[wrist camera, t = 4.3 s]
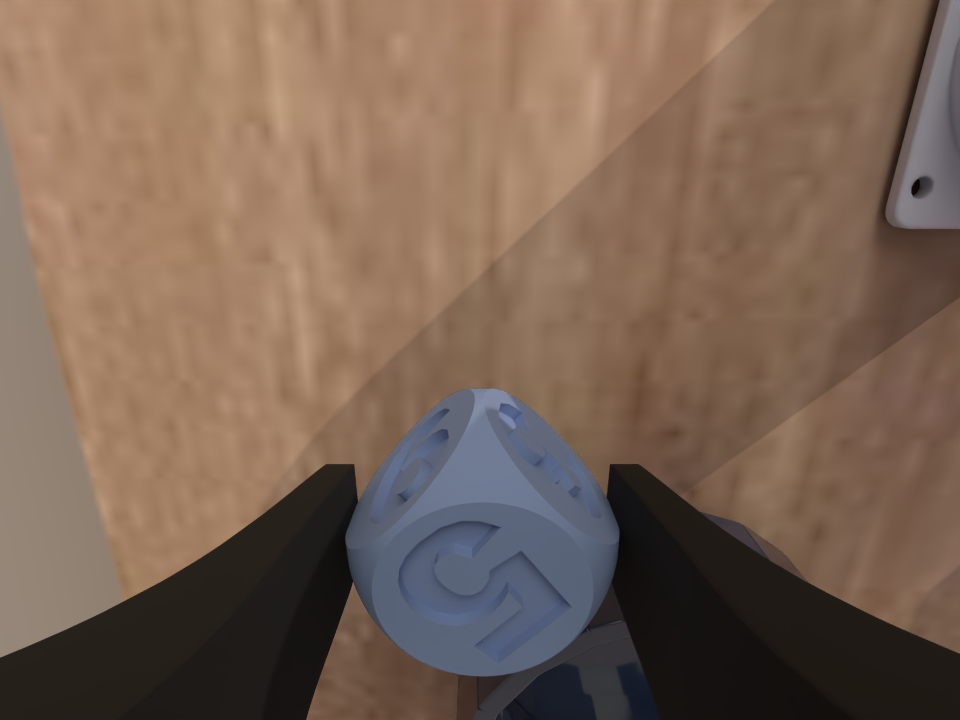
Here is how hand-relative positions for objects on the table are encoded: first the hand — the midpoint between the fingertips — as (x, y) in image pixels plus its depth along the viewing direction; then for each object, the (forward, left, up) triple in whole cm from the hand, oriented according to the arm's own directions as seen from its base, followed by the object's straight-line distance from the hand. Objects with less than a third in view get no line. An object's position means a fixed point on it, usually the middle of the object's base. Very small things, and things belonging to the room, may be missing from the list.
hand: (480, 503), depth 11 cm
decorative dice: (0, 0, -2) cm, 2 cm away
